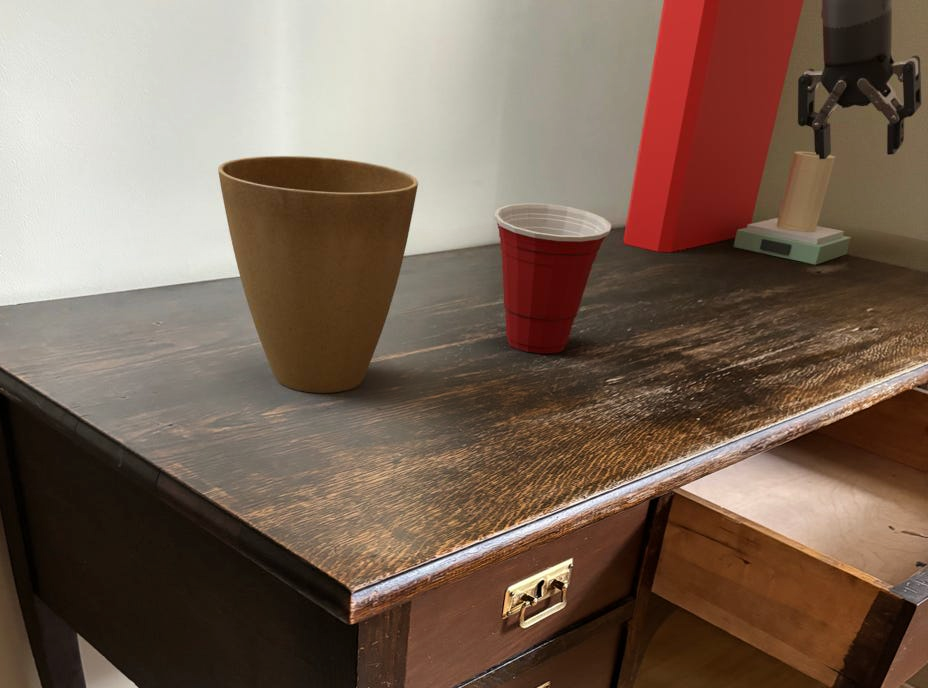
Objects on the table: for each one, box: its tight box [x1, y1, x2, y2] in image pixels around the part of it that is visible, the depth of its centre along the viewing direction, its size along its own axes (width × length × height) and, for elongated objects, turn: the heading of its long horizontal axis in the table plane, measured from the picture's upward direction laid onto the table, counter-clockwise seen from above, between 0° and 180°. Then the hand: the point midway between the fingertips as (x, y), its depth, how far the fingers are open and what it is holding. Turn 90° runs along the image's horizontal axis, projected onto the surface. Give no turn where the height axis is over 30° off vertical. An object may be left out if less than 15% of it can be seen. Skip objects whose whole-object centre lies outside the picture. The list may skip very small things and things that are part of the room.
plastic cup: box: [493, 202, 612, 354], centre depth 91 cm, size 11×11×12 cm
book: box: [622, 0, 805, 253], centre depth 140 cm, size 27×8×32 cm, turn 140°
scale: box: [732, 217, 852, 266], centre depth 146 cm, size 13×13×3 cm
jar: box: [777, 151, 836, 232], centre depth 143 cm, size 6×6×10 cm
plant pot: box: [217, 155, 419, 394], centre depth 77 cm, size 15×15×16 cm
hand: (858, 154), depth 124 cm, fingers open, 8 cm apart
